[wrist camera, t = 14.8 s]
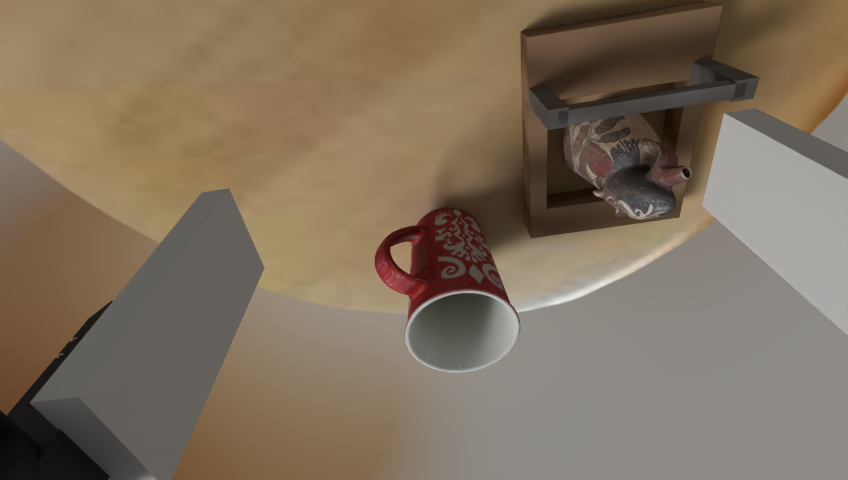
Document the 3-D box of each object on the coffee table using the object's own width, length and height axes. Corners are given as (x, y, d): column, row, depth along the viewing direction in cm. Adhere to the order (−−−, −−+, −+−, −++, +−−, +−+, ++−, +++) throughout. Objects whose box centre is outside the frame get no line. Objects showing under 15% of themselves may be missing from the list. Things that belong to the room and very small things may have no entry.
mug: (510, 233, 45) (545, 329, 34) (450, 286, 49) (463, 388, 38) (417, 158, 40) (421, 242, 29) (357, 223, 44) (341, 319, 33)
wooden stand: (520, 31, 34) (547, 52, 28) (703, 1, 34) (776, 15, 27) (524, 224, 44) (545, 273, 38) (666, 204, 44) (712, 251, 37)
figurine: (543, 152, 40) (588, 221, 30) (597, 83, 37) (668, 135, 27) (601, 187, 42) (661, 261, 32) (657, 124, 39) (742, 186, 29)
